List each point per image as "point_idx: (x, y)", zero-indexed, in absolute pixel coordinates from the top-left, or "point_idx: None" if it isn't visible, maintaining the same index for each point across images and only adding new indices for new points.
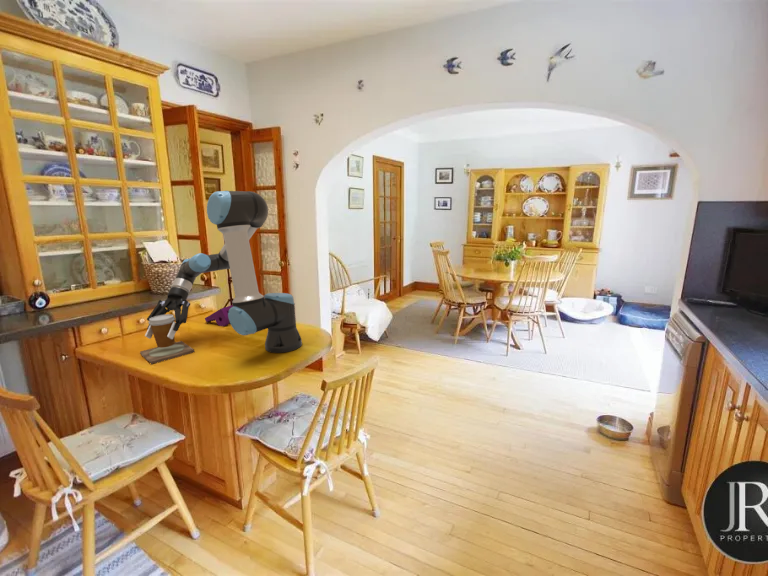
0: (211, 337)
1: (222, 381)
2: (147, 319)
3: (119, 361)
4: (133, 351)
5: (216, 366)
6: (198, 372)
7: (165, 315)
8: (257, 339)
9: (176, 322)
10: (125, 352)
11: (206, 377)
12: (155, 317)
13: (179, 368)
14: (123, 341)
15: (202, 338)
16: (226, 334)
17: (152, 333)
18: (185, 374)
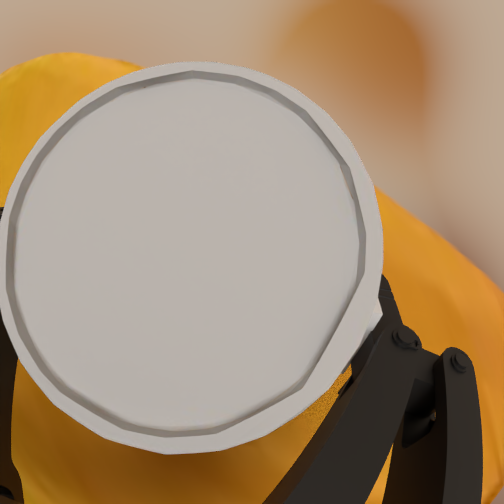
0: (95, 479)
1: (16, 73)
2: (458, 352)
3: (408, 213)
4: (424, 340)
5: (11, 133)
6: (49, 95)
7: (174, 430)
8: None
9: None
10: (449, 327)
11: (37, 78)
12: (331, 310)
13: None
14: (493, 442)
15: (133, 483)
16: (54, 486)
17: None
18: (79, 81)
